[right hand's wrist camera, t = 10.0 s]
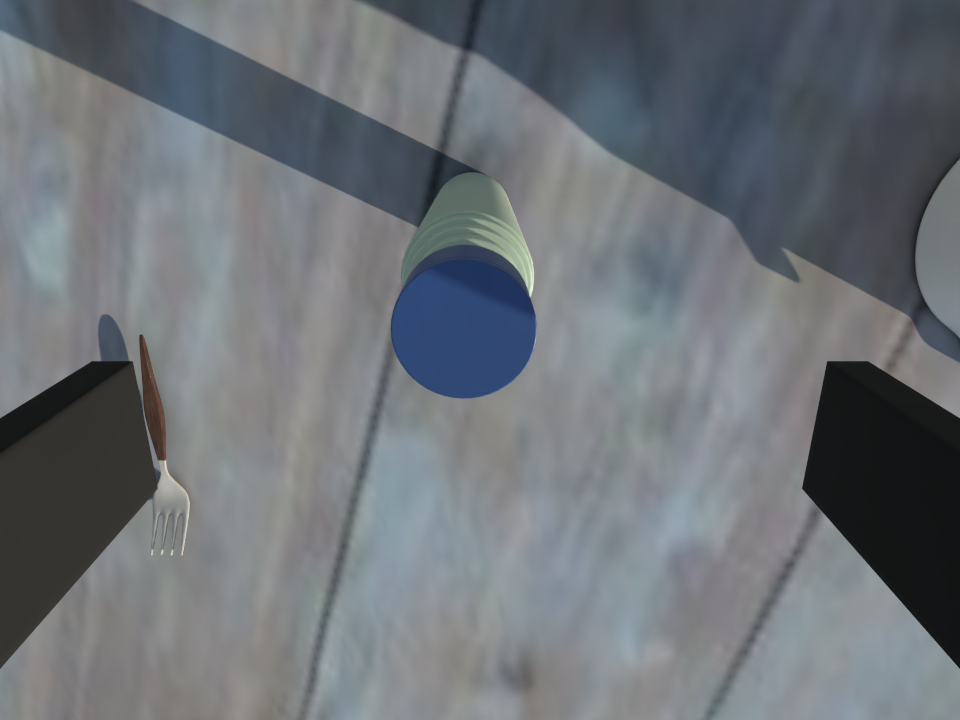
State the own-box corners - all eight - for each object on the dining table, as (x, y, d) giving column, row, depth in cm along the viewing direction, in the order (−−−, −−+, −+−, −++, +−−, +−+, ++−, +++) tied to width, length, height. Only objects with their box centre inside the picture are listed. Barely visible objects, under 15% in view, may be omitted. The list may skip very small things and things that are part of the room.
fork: (165, 332, 42) (150, 342, 40) (196, 539, 48) (184, 556, 46) (125, 331, 42) (108, 341, 40) (160, 538, 48) (147, 555, 46)
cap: (480, 217, 18) (480, 229, 16) (555, 323, 19) (565, 347, 17) (373, 295, 19) (360, 316, 17) (451, 393, 20) (448, 424, 18)
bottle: (480, 156, 39) (484, 202, 16) (524, 220, 40) (585, 346, 17) (419, 202, 40) (340, 308, 17) (464, 263, 41) (446, 437, 18)
